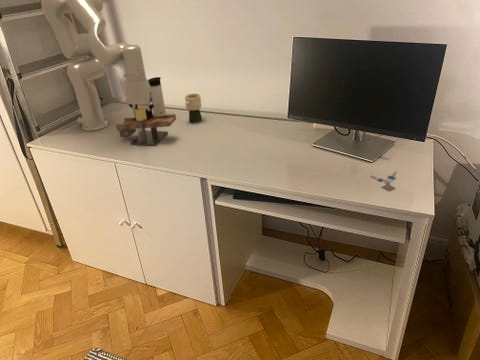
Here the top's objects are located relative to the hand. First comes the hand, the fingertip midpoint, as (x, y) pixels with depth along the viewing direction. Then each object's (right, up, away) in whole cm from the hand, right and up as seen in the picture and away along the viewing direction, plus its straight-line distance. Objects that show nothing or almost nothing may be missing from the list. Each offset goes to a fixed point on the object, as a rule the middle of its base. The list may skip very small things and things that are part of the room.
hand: (144, 118), depth 162 cm
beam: (+1, -6, +3) cm, 7 cm away
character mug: (+20, +2, +21) cm, 29 cm away
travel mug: (+1, +6, +30) cm, 30 cm away
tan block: (0, -1, +1) cm, 1 cm away
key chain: (+90, -28, -36) cm, 101 cm away
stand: (+1, -9, +5) cm, 10 cm away
